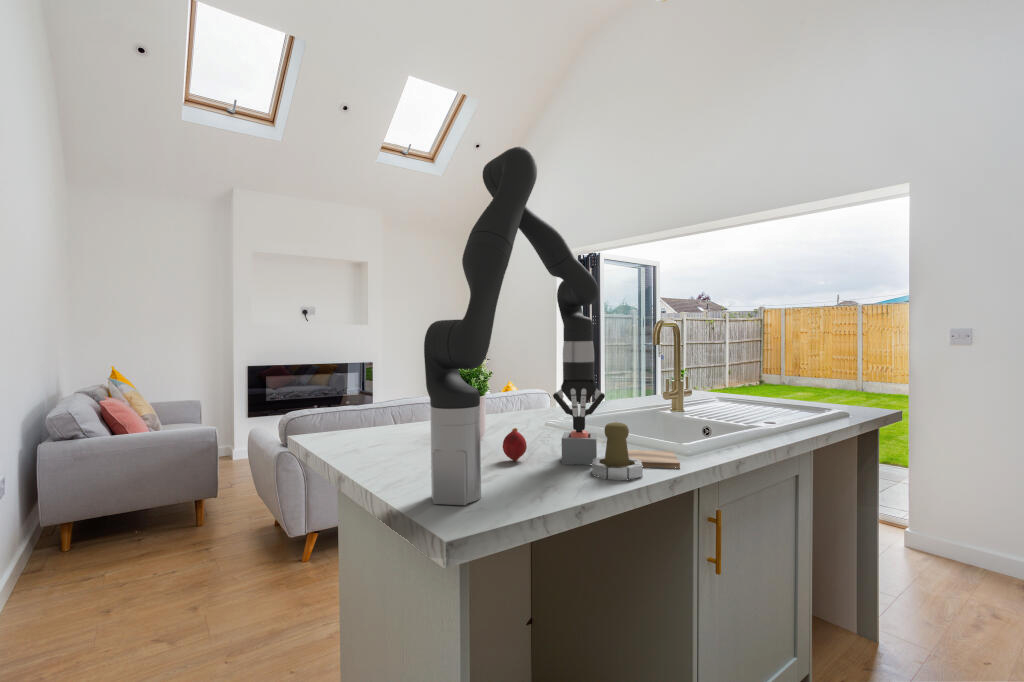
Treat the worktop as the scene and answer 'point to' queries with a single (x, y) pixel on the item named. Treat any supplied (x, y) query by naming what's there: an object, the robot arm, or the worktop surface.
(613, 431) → the cork
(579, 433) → the plunger
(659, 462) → the board
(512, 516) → the worktop surface
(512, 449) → the onion
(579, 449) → the housing
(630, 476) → the seat ring
